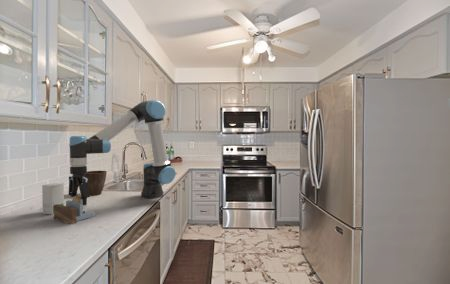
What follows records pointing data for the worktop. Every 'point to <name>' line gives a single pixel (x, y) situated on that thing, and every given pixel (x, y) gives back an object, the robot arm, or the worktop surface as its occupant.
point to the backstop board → (65, 214)
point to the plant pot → (96, 181)
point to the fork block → (79, 210)
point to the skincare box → (52, 196)
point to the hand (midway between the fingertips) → (79, 210)
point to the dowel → (78, 199)
